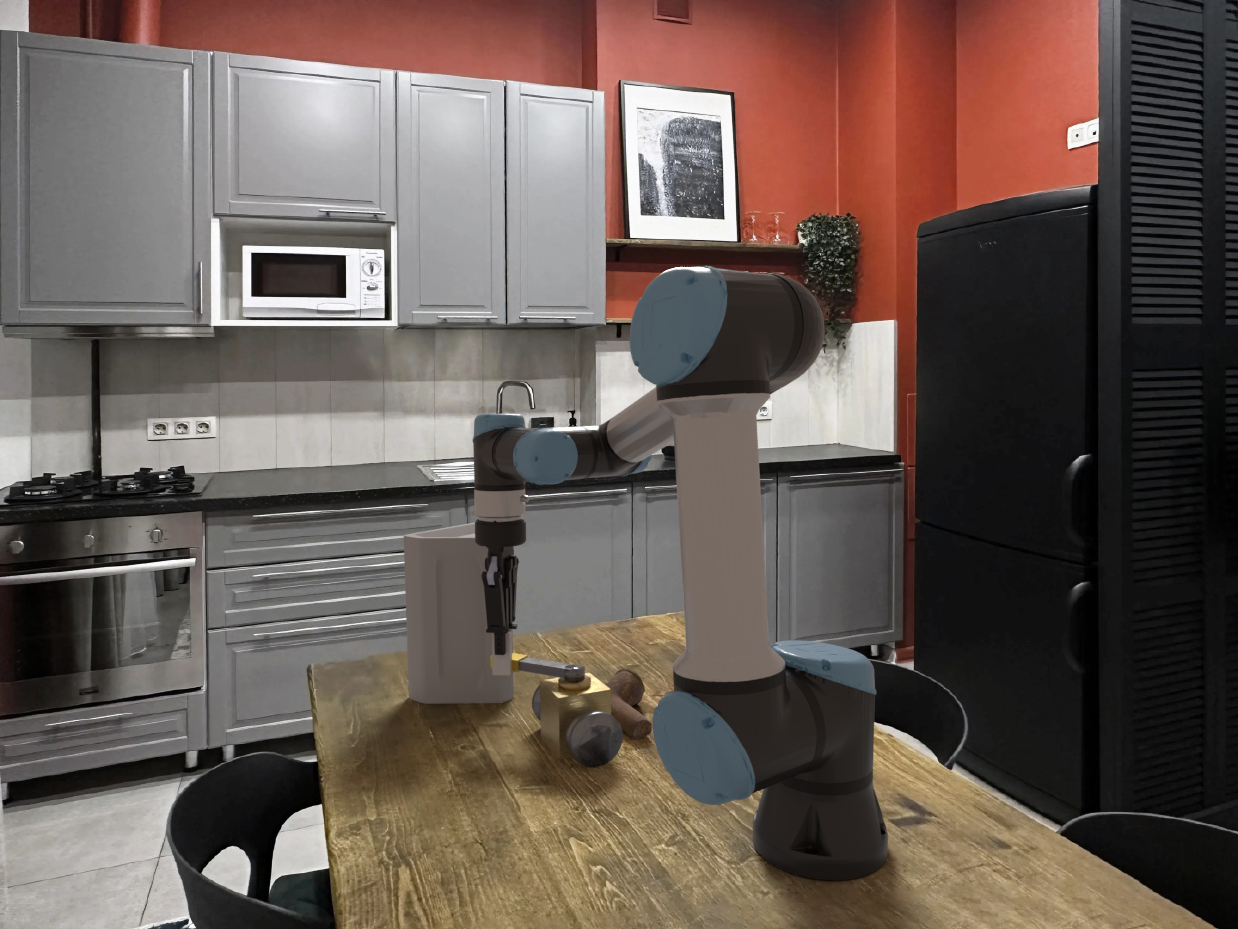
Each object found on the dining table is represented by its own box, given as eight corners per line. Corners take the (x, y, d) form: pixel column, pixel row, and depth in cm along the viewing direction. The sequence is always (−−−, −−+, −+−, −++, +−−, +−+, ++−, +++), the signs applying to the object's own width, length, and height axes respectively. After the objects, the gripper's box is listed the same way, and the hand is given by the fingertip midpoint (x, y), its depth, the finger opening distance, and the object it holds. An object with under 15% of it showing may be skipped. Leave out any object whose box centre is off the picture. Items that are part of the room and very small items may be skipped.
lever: (588, 676, 127) (588, 664, 127) (578, 683, 125) (578, 670, 125) (501, 662, 134) (501, 650, 134) (489, 667, 132) (489, 656, 132)
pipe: (629, 714, 127) (683, 690, 132) (573, 681, 141) (624, 661, 146) (635, 754, 128) (688, 729, 133) (579, 718, 142) (629, 696, 147)
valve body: (624, 761, 122) (623, 694, 121) (571, 772, 118) (570, 703, 118) (579, 719, 137) (578, 659, 136) (531, 728, 134) (529, 666, 133)
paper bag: (465, 718, 138) (460, 545, 136) (406, 697, 147) (401, 535, 145) (547, 684, 153) (544, 528, 150) (489, 668, 162) (485, 520, 160)
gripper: (515, 524, 121) (516, 689, 123) (534, 512, 134) (535, 662, 136) (463, 523, 122) (465, 687, 124) (487, 512, 135) (489, 660, 136)
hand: (502, 674), depth 130 cm, fingers closed
